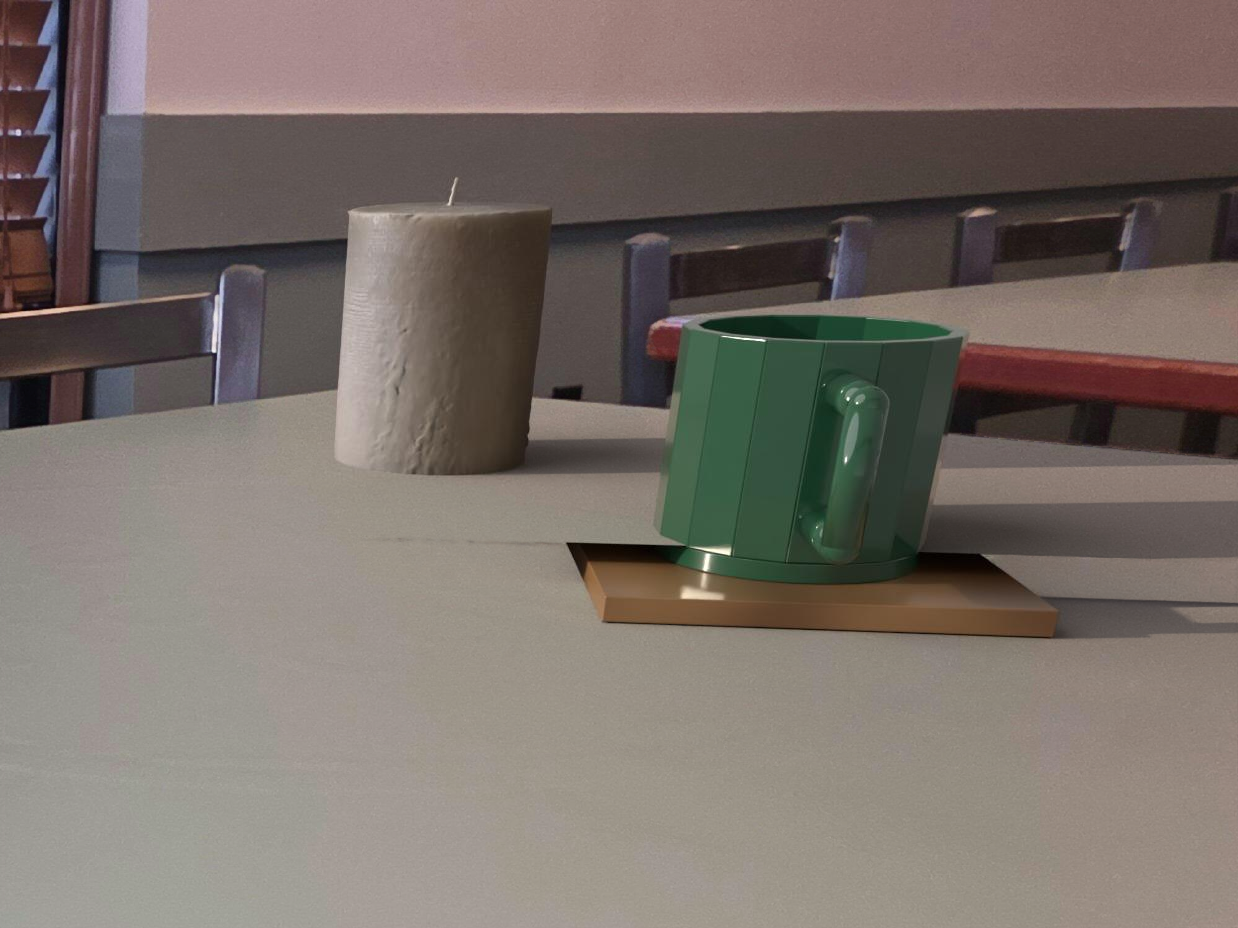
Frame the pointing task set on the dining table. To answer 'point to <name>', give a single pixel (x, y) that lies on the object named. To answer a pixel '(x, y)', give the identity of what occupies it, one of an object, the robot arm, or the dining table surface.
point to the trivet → (814, 596)
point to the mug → (806, 445)
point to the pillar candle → (440, 335)
